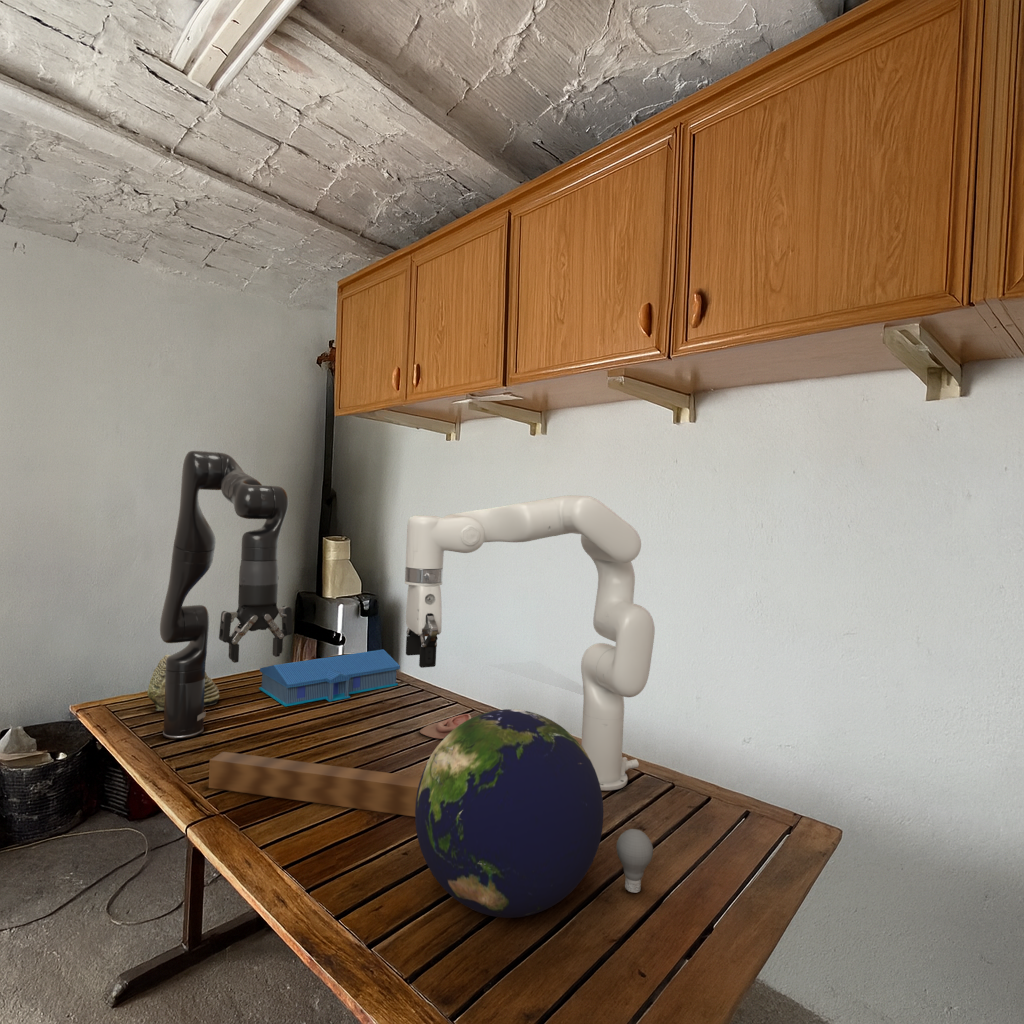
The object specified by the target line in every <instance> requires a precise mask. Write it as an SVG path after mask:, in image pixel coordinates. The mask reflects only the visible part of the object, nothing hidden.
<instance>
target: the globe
mask: <svg viewBox="0 0 1024 1024" xmlns="http://www.w3.org/2000/svg"><path fill="white" fill-rule="evenodd" d="M420 777H421V779H420V783H419V786H418V791H417V797H416V806H415V817H414V818H415V819H414V820H415V831H416V837H417V840H418V845H419V848H420V851H421V854H422V856H423V859H424V861H425V863H426V865H427V867H428V869H429V871H430V872H431V874H432V875H433V877H434V879H435V880H436V882H437V883H438V884H439V885H440V886H441V887H442V888H443V890H444V891H446V893H447V894H448V895H450V896H451V897H452V898H453V899H454V900H456V901H457V902H459V903H460V904H461V905H462V906H464V907H466V908H469V909H471V910H472V911H475V912H477V913H479V914H482V915H487V916H490V917H495V918H501V919H502V918H504V919H516V918H524V917H529V916H533V915H536V914H538V913H539V914H540V913H542V912H543V911H545V910H548V909H550V908H552V907H554V906H555V905H557V904H558V903H561V902H562V901H563V900H564V899H565V898H567V896H568V895H570V894H571V893H572V892H573V891H574V890H575V889H576V888H577V887H578V885H579V884H580V883H581V882H582V881H583V879H584V878H585V877H586V875H587V873H588V871H589V869H590V868H591V866H592V864H593V862H594V860H595V858H596V855H597V853H598V851H599V847H600V843H601V839H602V834H603V827H604V799H603V793H602V790H601V788H600V783H599V780H598V777H597V774H596V771H595V769H594V767H593V764H592V762H591V760H590V758H589V757H588V755H587V753H586V752H585V750H584V748H583V747H582V746H581V743H580V742H579V741H578V739H576V738H575V737H574V735H572V733H570V732H569V731H568V730H567V729H565V728H564V727H563V726H561V725H560V724H559V723H557V722H555V721H553V720H552V719H550V718H548V717H547V716H544V715H542V714H539V713H536V712H531V711H528V710H524V709H521V708H520V709H519V708H511V709H507V708H506V709H497V710H496V709H495V710H491V711H487V712H483V713H480V714H477V715H475V716H474V717H471V719H469V720H467V721H465V722H464V723H462V724H461V725H459V726H458V727H456V728H455V729H454V730H453V731H451V732H450V733H449V734H448V735H447V736H446V737H445V738H444V739H441V741H440V742H439V743H438V744H437V746H436V747H435V749H434V750H433V751H432V753H431V754H430V756H429V759H428V760H427V762H426V763H425V767H424V769H423V772H422V773H421V776H420Z"/></svg>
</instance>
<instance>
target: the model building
mask: <svg viewBox="0 0 1024 1024" xmlns="http://www.w3.org/2000/svg"><path fill="white" fill-rule="evenodd" d="M400 669H401V665H400V664H399V663H398V662H397V661H396V660H395V659H394V658H393V657H392V656H391V654H389V653H388V652H387V651H386V650H385V649H376V650H368V651H363V652H356V653H349V654H342V655H341V654H340V655H335V656H329V657H328V656H327V657H321V658H315V659H314V658H313V659H307V660H300V661H293V662H287V663H278V664H272V665H268V666H264V667H263V666H262V667H260V668H259V672H260V673H261V686H260V687H258V690H260V691H261V692H262V693H264V694H265V695H267V696H268V697H270V698H271V699H273V700H274V701H276V702H277V703H279V704H280V705H282V706H283V707H290V706H297V705H302V704H307V703H312V702H317V701H323V700H325V701H327V702H329V703H330V702H335V701H341V700H346V699H347V700H348V699H350V698H351V695H353V694H359V693H364V692H365V693H366V692H369V691H373V690H381V689H385V688H390V687H391V688H392V687H395V686H399V683H398V682H397V670H400Z"/></svg>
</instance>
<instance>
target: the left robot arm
mask: <svg viewBox="0 0 1024 1024" xmlns="http://www.w3.org/2000/svg"><path fill="white" fill-rule="evenodd" d="M201 490H202V491H203V490H206V491H221V493H222V495H223V496H224V498H225V499H226V500H227V501H229V503H231V504H233V509H234V512H235V515H236V516H238V517H240V518H242V519H245V520H246V519H247V520H265V521H264V523H263V525H262V526H261V527H260V528H258V529H253V530H248V531H246V532H244V533H243V534H242V537H241V556H240V566H239V572H238V573H239V574H238V598H237V603H238V604H237V609H236V611H227V610H223V611H221V613H220V622H219V633H218V639H219V640H220V641H222V642H223V643H227V644H228V659H229V660H230V661H231V662H232V663H233V664H235V663H239V662H240V661H239V660H240V644H239V642H240V641H241V639H242V638H243V637H244V636H245V635H247V633H248V632H249V631H250V632H255V631H259V630H260V631H266V630H269V631H270V632H271V634H272V635H273V637H272V656H273V657H275V658H276V657H280V656H281V654H282V653H283V645H284V638H285V637H287V636H291V635H292V634H293V609H292V607H290V606H287V605H283V606H281V607H278V606H277V605H278V591H279V590H278V589H279V587H278V586H279V578H280V577H279V564H278V555H279V553H278V552H279V539H280V535H281V532H282V527H283V525H284V522H285V520H286V516H287V513H288V509H289V504H290V503H289V502H290V500H289V499H290V498H289V496H288V493H287V491H286V490H285V488H283V487H281V486H280V485H279V486H277V485H262V483H261V482H260V481H259V480H258V479H256V478H254V477H253V476H251V475H249V474H247V473H246V472H245V471H244V470H243V469H242V467H241V466H240V465H239V463H238V462H237V461H236V460H235V459H234V458H233V457H232V456H231V455H229V454H227V453H224V452H216V451H205V450H204V451H203V450H190V451H188V452H187V453H186V455H185V457H184V460H183V463H182V472H181V483H180V500H179V509H178V510H179V512H178V518H177V525H176V530H175V535H174V542H173V546H172V554H171V563H170V564H171V565H170V572H169V579H168V586H167V590H166V594H165V599H164V603H163V608H162V611H161V616H160V622H159V634H160V635H159V636H160V638H161V640H162V641H163V642H164V643H166V644H178V643H188V644H187V645H186V646H184V647H183V648H182V649H180V650H179V651H177V652H175V653H173V654H170V655H171V656H169V657H168V658H167V660H166V674H165V705H164V710H163V731H162V737H164V738H166V739H169V740H185V739H190V738H191V739H192V738H194V737H197V736H199V735H202V734H203V732H204V730H205V729H204V722H205V721H204V718H205V717H206V715H207V713H206V710H205V706H204V693H205V672H206V664H207V663H206V660H207V653H208V640H209V633H210V631H209V630H210V615H209V614H210V613H209V610H208V609H207V607H206V606H205V605H203V604H194V605H193V604H192V605H183V604H184V603H185V600H186V598H187V596H188V595H189V593H190V592H191V590H192V589H193V588H194V587H195V586H196V585H197V584H198V583H199V581H200V580H201V579H202V578H203V577H204V576H205V575H206V573H208V571H209V570H210V568H211V566H212V564H213V561H214V554H215V548H216V536H215V534H214V531H213V529H212V526H210V524H209V522H208V521H207V519H206V517H205V516H204V513H203V511H202V508H201V507H200V506H201V505H200V503H199V492H200V491H201ZM278 615H279V617H280V618H281V629H280V627H279V625H277V623H276V621H275V619H276V618H277V617H278ZM235 619H237V620H238V621H239V622H238V623H237V625H236V626H235V627H234V629H233V631H232V633H231V626H232V623H233V622H234V621H235Z"/></svg>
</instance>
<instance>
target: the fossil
mask: <svg viewBox="0 0 1024 1024" xmlns="http://www.w3.org/2000/svg"><path fill="white" fill-rule="evenodd" d="M171 655H172V654H165V655H164V656H163V657H162V658H161V659H160V660H159V662H158V663H157V666H156V667H155V669H154V670H153V672H152V675H151V677H150V680H149V684H148V688H147V697H148V699H149V700H150V701H152V703H153V704H154V706H155V711H158V712H159V711H162V712H163V711H164V705H165V674H166V660H167V658H168V657H169V656H171ZM220 698H221V696H220V690H219V688H218V686H217V685H216V683H215V682H214V681H213V679H212V678H211V677H209V675H208V674H207V672H206V671H205V693H204V707H207V706H213V705H215V704H217V703H218V701H219V699H220Z"/></svg>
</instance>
